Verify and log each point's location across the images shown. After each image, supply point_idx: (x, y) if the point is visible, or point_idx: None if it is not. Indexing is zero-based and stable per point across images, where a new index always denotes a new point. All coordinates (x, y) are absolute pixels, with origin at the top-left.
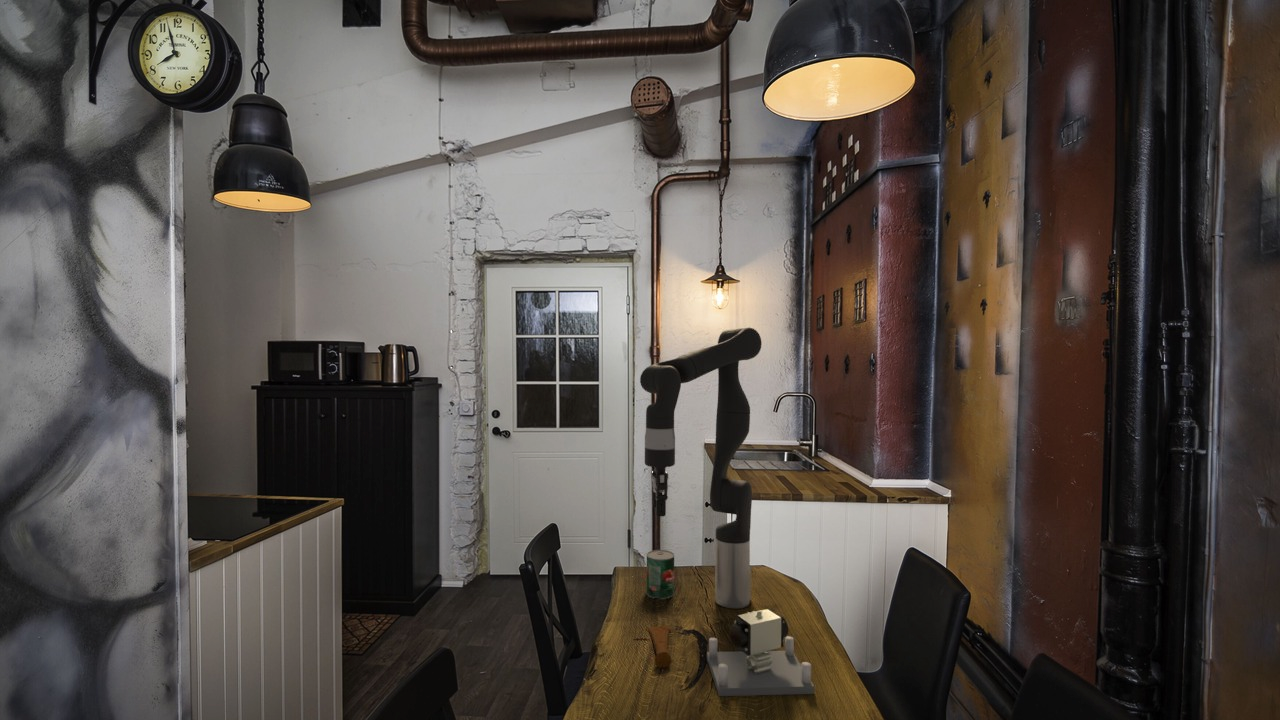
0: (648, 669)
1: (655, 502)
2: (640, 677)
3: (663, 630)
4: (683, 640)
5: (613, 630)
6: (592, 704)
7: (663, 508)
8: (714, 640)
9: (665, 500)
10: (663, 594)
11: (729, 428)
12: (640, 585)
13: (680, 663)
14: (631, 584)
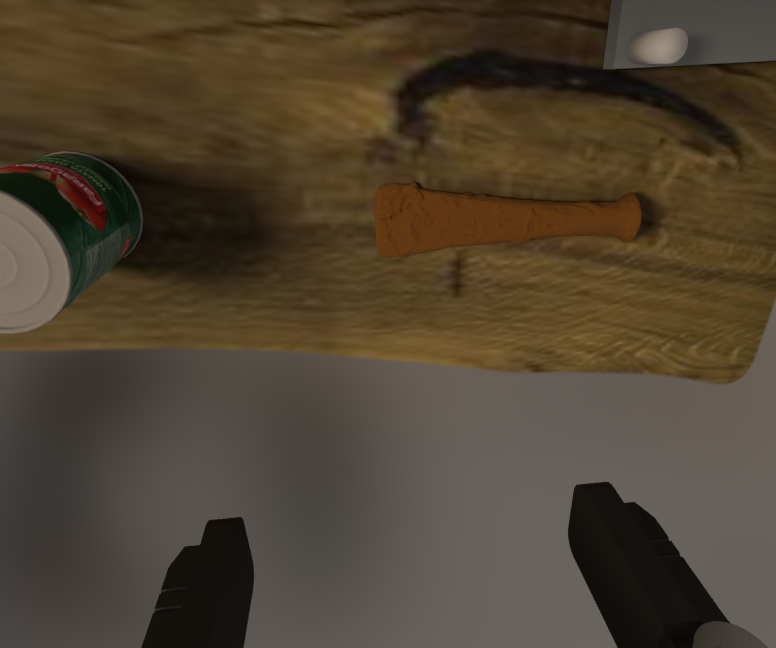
0: (626, 253)
1: (243, 609)
2: (658, 272)
3: (423, 209)
4: (474, 140)
5: (402, 353)
6: (735, 366)
7: (679, 560)
8: (679, 41)
9: (733, 633)
10: (131, 203)
11: None
12: None
13: (612, 160)
14: None
